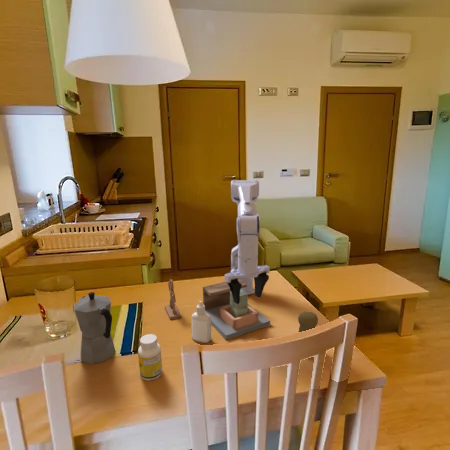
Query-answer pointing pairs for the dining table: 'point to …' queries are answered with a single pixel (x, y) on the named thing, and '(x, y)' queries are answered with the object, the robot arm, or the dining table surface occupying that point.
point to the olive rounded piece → (307, 320)
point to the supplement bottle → (149, 357)
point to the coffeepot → (95, 328)
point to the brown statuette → (172, 304)
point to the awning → (218, 294)
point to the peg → (239, 305)
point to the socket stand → (235, 321)
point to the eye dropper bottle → (201, 324)
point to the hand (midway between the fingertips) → (247, 299)
